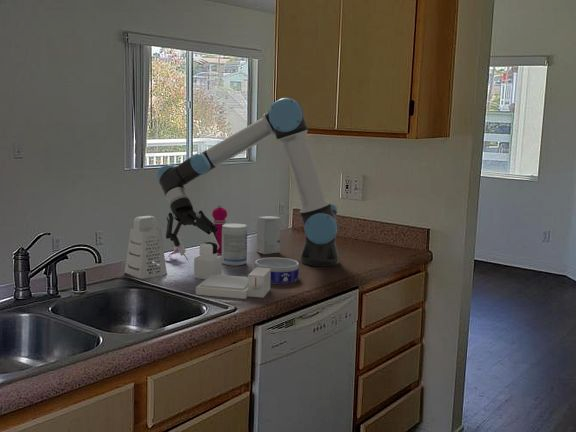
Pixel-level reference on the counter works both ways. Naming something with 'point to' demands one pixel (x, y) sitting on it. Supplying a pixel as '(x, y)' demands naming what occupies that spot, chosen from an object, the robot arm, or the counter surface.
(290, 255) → the counter surface
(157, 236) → the grater
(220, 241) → the pepper mill
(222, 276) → the kitchen scale
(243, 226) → the supplement tub
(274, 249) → the skincare box
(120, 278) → the counter surface
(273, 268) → the dog bowl
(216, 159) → the robot arm
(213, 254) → the medicine bottle
